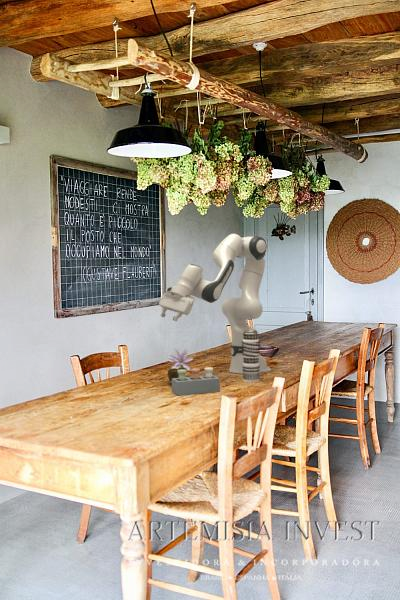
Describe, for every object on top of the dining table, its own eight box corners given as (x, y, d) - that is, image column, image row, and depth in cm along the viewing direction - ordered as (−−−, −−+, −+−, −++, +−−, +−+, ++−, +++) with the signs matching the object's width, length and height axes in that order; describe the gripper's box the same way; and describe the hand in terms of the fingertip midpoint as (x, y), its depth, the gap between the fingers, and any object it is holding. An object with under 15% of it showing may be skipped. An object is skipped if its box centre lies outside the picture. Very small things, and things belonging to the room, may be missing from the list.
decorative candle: (259, 382, 298) (259, 331, 297) (240, 381, 300) (240, 330, 298) (261, 378, 307) (261, 328, 306) (243, 378, 309) (242, 328, 307)
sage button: (184, 384, 280) (184, 369, 279) (187, 386, 276) (187, 370, 276) (176, 385, 278) (176, 369, 278) (179, 386, 275) (179, 371, 274)
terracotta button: (198, 383, 282) (198, 368, 282) (201, 384, 279) (201, 369, 278) (190, 383, 281) (189, 368, 280) (193, 385, 277) (192, 370, 277)
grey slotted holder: (212, 387, 288) (212, 374, 287) (219, 391, 279) (219, 378, 279) (171, 391, 281) (171, 378, 280) (178, 395, 272) (178, 382, 272)
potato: (191, 382, 301) (191, 365, 301) (176, 386, 291) (176, 370, 290) (177, 380, 306) (177, 364, 305) (162, 385, 295) (161, 368, 295)
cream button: (211, 381, 285) (211, 366, 284) (214, 383, 281) (214, 368, 280) (203, 382, 283) (203, 367, 283) (206, 384, 279) (206, 369, 279)
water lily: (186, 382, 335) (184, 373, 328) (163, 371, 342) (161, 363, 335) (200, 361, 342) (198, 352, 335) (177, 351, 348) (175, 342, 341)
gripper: (199, 300, 293) (186, 326, 290) (172, 293, 308) (159, 317, 305) (191, 294, 289) (177, 320, 286) (164, 287, 304) (151, 311, 301)
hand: (168, 318), depth 296 cm, fingers open, 8 cm apart
